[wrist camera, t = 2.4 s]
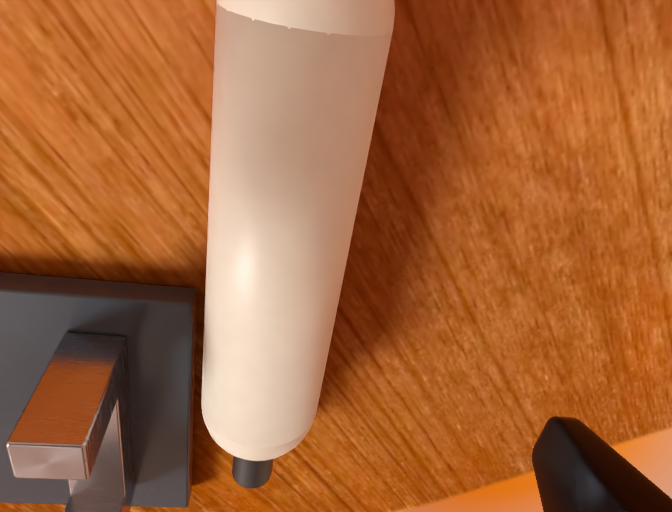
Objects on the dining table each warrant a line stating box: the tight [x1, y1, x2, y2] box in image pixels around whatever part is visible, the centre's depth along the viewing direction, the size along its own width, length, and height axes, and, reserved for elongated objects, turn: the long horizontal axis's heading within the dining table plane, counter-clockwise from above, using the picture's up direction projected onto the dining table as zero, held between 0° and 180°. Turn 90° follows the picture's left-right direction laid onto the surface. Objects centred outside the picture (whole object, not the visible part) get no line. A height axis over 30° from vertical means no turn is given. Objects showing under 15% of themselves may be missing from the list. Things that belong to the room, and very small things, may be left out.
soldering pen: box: [201, 0, 395, 488], centre depth 12 cm, size 19×3×3 cm, turn 171°
